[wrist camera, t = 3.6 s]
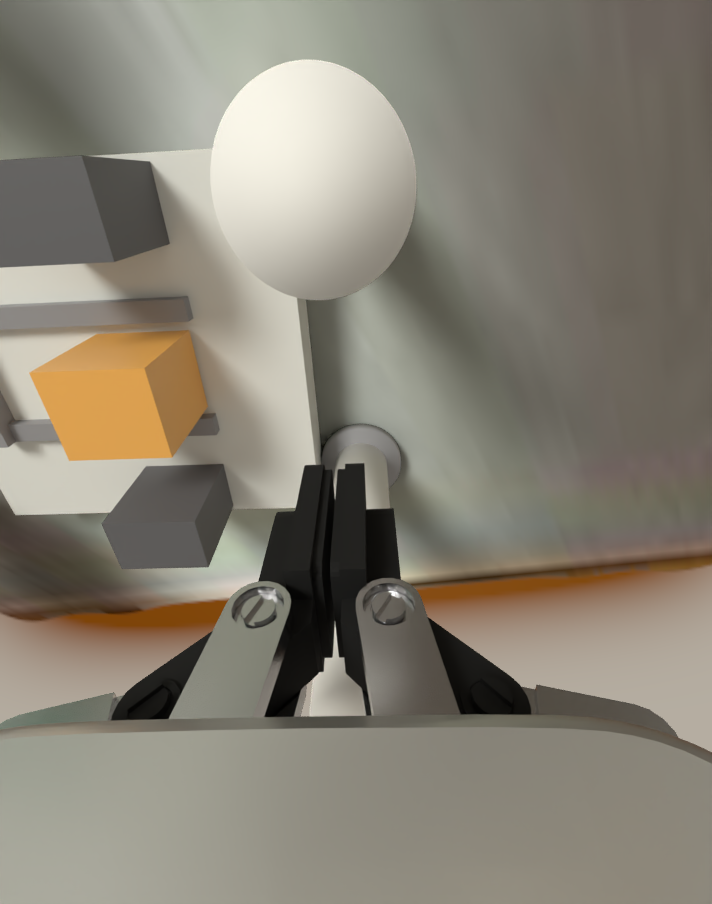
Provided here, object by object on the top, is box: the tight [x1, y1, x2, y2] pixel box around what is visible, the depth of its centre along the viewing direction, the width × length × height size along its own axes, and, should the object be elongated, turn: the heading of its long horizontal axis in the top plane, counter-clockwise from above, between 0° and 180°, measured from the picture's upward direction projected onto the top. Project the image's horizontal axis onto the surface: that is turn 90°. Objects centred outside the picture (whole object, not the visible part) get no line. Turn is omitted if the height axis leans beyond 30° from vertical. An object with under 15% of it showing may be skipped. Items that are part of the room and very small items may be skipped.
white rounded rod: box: [210, 60, 417, 300], centre depth 14 cm, size 5×5×16 cm
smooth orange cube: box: [29, 330, 208, 461], centre depth 20 cm, size 4×4×5 cm
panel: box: [0, 149, 322, 569], centre depth 22 cm, size 19×18×8 cm
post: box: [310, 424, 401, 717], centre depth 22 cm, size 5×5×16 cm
